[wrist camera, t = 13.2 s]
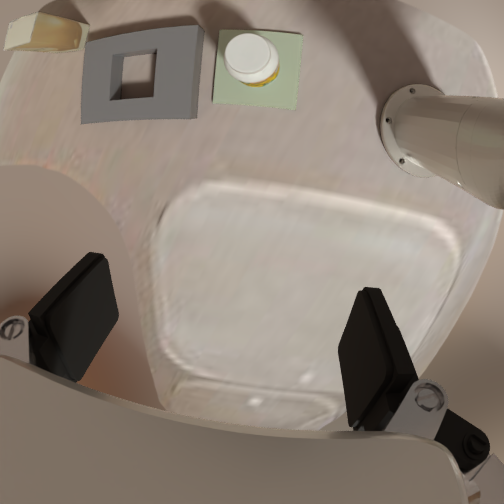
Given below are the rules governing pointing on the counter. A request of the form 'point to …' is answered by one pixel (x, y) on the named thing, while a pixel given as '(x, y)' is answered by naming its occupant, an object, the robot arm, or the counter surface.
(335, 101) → the counter surface
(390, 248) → the counter surface
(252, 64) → the supplement bottle
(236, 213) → the counter surface
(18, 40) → the skincare box
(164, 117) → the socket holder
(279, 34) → the rubber mat
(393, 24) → the counter surface
